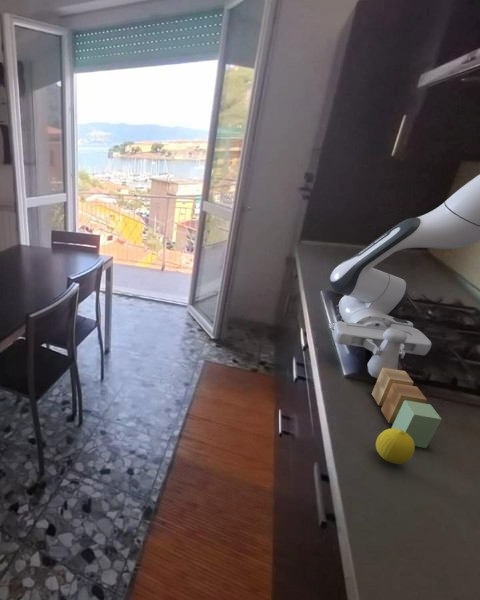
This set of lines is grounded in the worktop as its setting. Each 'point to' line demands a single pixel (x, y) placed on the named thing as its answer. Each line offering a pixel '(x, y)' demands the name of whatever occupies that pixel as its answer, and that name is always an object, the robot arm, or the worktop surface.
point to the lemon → (395, 446)
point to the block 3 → (417, 422)
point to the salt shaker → (387, 352)
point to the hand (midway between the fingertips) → (390, 354)
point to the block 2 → (400, 399)
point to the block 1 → (389, 383)
